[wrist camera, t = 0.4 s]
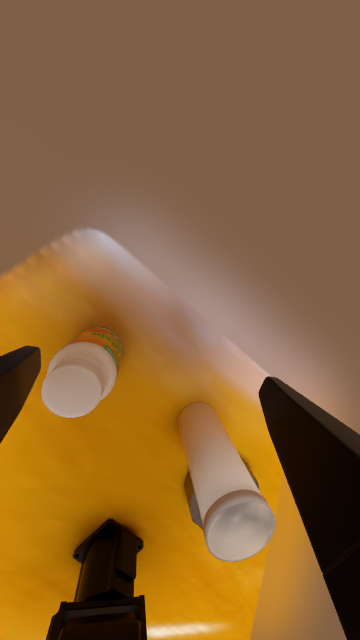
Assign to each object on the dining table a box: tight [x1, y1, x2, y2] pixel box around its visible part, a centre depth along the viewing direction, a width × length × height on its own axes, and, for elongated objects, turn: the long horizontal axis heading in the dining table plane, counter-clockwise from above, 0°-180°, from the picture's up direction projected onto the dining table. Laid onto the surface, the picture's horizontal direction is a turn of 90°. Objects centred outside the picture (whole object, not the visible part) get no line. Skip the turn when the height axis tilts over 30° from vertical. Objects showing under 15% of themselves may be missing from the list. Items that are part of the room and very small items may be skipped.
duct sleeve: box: [178, 402, 275, 562], centre depth 22 cm, size 5×5×13 cm
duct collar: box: [184, 458, 259, 529], centre depth 29 cm, size 9×9×3 cm
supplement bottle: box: [41, 327, 123, 418], centre depth 20 cm, size 5×5×10 cm
